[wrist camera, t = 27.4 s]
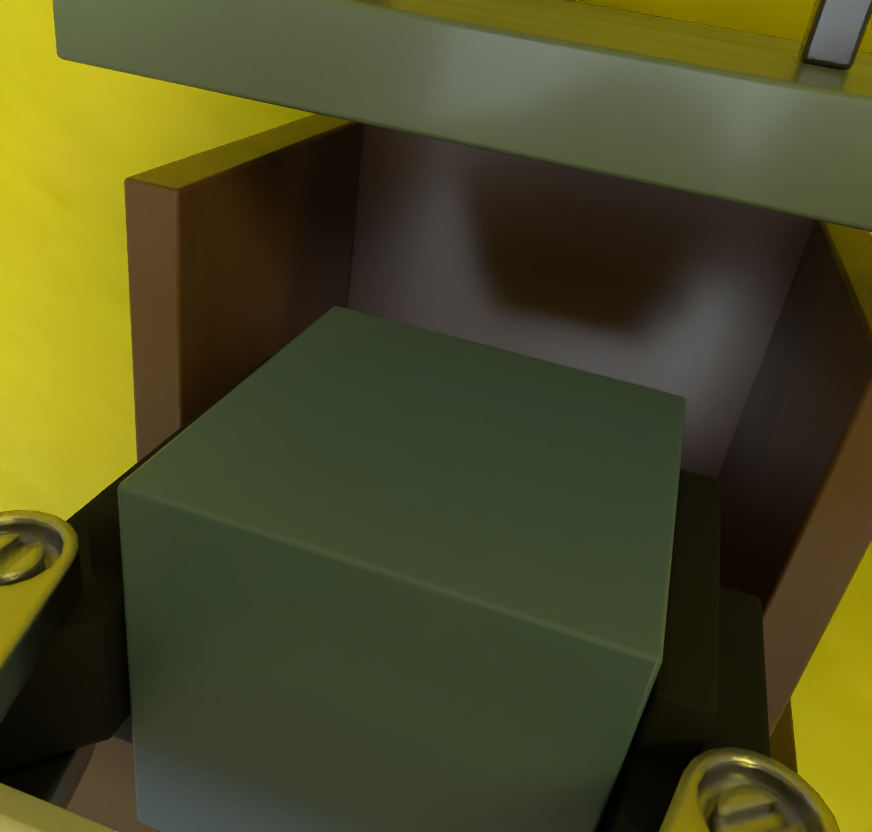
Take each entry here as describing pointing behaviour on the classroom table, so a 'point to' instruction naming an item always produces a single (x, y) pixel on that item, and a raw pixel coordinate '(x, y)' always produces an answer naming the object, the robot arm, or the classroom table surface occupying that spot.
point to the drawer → (538, 230)
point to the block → (398, 589)
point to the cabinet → (116, 808)
